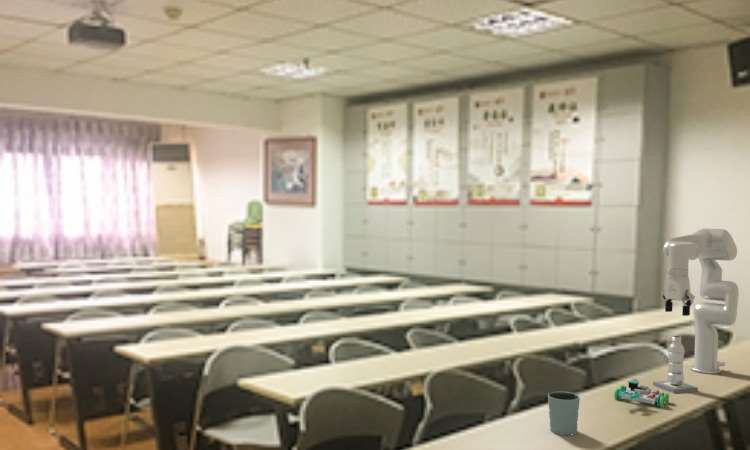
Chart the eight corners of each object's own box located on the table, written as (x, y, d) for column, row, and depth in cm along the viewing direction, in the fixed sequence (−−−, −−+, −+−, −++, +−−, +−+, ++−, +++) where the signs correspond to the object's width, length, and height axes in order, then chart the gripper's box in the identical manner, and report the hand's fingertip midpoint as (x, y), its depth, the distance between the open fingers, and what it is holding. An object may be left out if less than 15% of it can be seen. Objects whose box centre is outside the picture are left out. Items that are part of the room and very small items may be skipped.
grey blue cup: (585, 433, 216) (586, 397, 216) (564, 438, 210) (565, 401, 210) (561, 424, 224) (562, 389, 224) (540, 429, 219) (541, 393, 219)
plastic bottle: (680, 382, 276) (681, 335, 275) (686, 387, 269) (687, 338, 268) (664, 382, 276) (665, 334, 276) (670, 386, 269) (671, 338, 269)
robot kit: (603, 407, 245) (603, 382, 245) (622, 392, 266) (623, 369, 265) (655, 417, 234) (656, 391, 234) (671, 401, 254) (672, 377, 254)
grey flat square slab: (676, 383, 280) (676, 380, 280) (697, 391, 268) (697, 387, 268) (653, 385, 276) (653, 381, 276) (673, 393, 265) (673, 389, 265)
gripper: (656, 270, 280) (655, 310, 280) (686, 275, 263) (685, 317, 264) (670, 270, 282) (669, 309, 283) (701, 274, 266) (700, 316, 266)
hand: (677, 313), depth 273 cm, fingers open, 9 cm apart
